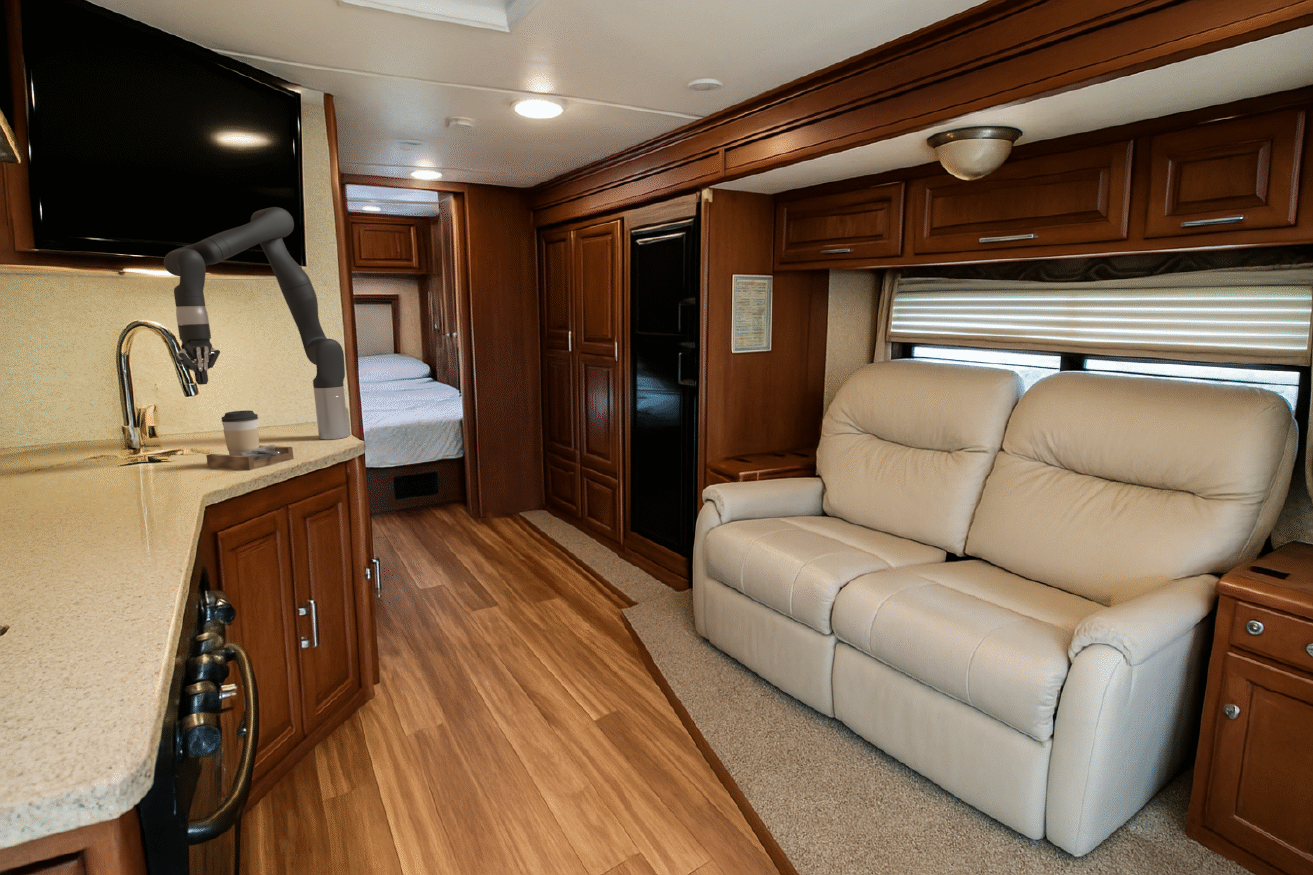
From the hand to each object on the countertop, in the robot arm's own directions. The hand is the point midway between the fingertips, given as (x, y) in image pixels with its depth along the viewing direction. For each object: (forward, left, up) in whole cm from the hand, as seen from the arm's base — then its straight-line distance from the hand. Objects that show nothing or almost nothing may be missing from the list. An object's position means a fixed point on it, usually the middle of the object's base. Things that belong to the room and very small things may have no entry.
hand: (202, 384), depth 203 cm
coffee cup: (+2, +14, -22) cm, 26 cm away
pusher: (+1, +21, -22) cm, 31 cm away
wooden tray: (+1, +16, -22) cm, 27 cm away
